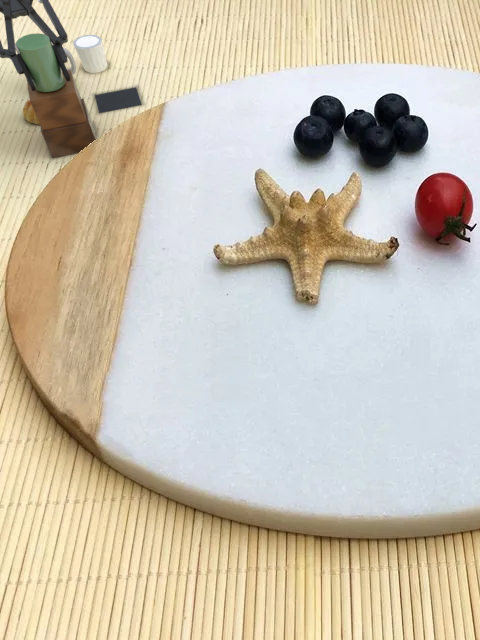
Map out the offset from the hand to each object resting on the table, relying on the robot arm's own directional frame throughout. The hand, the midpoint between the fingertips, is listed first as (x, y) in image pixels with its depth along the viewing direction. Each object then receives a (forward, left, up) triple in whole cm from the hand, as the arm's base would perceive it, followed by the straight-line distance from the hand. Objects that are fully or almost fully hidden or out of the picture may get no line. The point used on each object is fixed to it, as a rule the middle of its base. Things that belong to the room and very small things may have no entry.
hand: (51, 83), depth 138 cm
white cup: (+9, +34, -16) cm, 38 cm away
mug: (-1, +29, -16) cm, 33 cm away
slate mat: (+12, +17, -16) cm, 26 cm away
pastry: (-5, +16, -16) cm, 23 cm away
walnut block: (0, +4, -16) cm, 17 cm away
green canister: (-1, +4, -2) cm, 4 cm away
